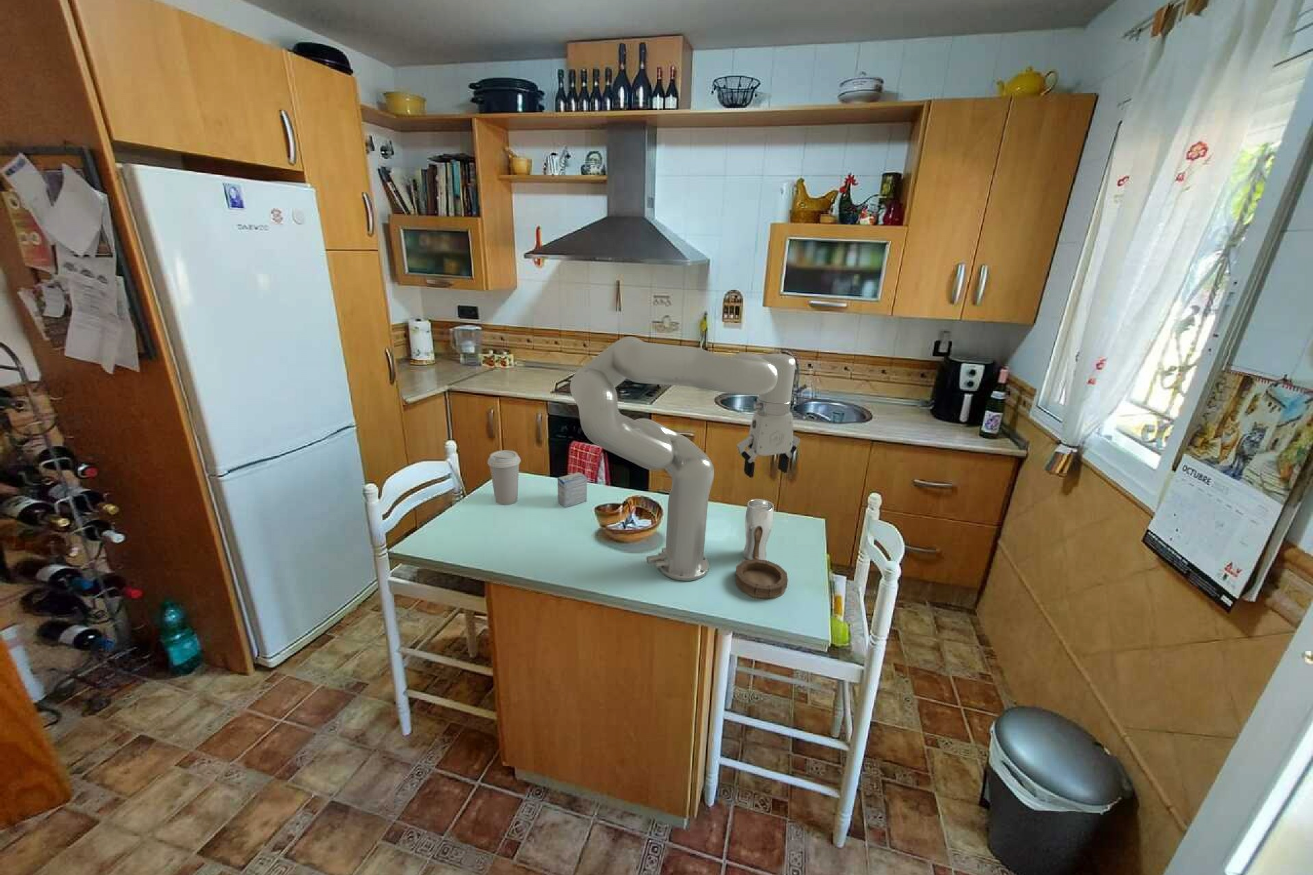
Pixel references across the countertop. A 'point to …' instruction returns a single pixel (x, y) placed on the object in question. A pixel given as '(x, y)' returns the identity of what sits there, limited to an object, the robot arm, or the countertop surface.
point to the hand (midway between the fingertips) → (765, 473)
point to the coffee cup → (505, 476)
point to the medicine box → (572, 489)
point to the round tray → (761, 579)
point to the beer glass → (757, 528)
